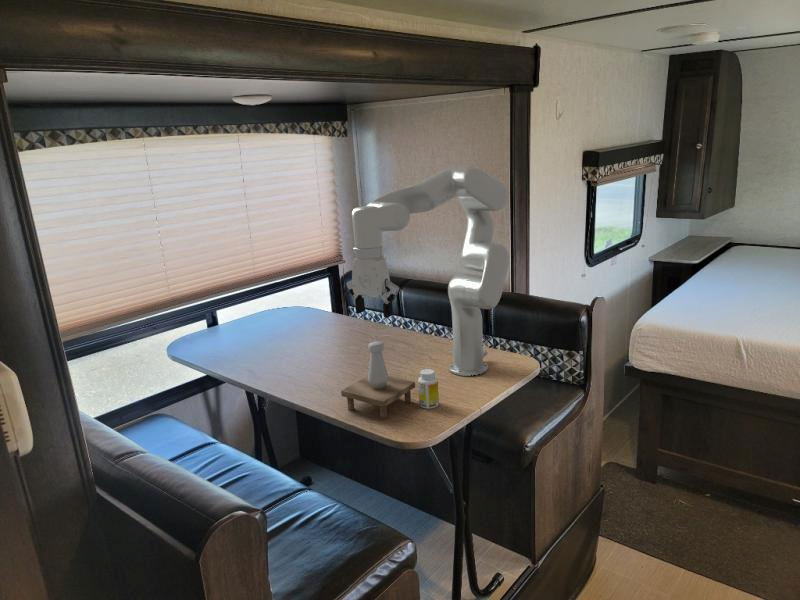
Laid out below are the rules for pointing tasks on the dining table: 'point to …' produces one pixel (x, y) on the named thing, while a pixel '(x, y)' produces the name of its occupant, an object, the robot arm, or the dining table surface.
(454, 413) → the dining table surface
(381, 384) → the salt shaker
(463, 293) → the robot arm
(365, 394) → the small wooden table
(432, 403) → the supplement bottle
